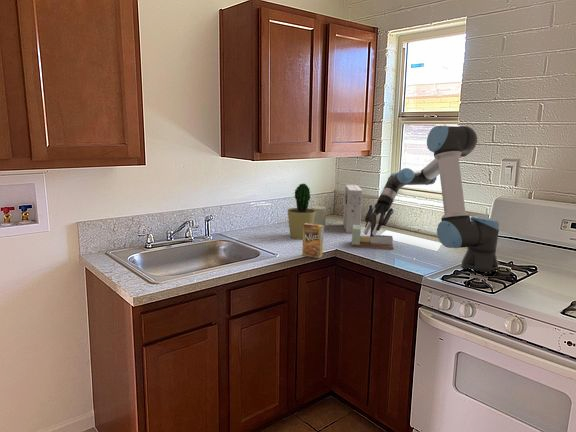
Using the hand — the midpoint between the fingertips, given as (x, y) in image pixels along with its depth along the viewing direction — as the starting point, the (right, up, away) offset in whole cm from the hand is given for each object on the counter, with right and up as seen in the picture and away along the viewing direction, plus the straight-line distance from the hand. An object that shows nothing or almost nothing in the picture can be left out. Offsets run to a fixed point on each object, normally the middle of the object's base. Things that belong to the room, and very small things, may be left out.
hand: (369, 234), depth 231 cm
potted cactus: (-35, -2, +18) cm, 39 cm away
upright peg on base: (-1, -4, +4) cm, 6 cm away
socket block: (-6, -4, +5) cm, 9 cm away
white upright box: (-4, +1, +40) cm, 40 cm away
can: (-23, +3, +45) cm, 50 cm away
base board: (+2, -6, +4) cm, 8 cm away
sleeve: (+7, -5, +3) cm, 9 cm away
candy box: (-30, -10, -18) cm, 36 cm away
